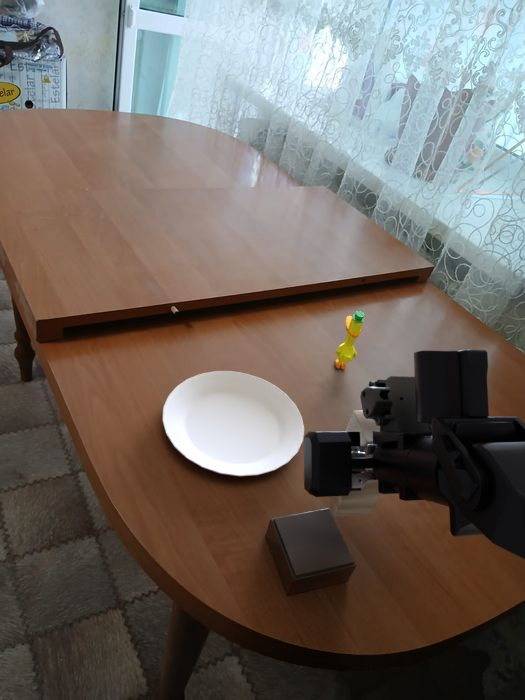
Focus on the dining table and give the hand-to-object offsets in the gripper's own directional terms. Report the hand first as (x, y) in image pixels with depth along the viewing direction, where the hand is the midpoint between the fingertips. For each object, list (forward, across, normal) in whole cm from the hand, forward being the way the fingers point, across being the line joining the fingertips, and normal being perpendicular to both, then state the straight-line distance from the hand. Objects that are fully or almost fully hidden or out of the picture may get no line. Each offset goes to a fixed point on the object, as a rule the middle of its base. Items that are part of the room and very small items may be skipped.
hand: (358, 455), depth 63 cm
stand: (+6, +5, +13) cm, 15 cm away
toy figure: (+32, -11, -13) cm, 36 cm away
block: (+4, 0, +6) cm, 7 cm away
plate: (+21, +11, -2) cm, 24 cm away
